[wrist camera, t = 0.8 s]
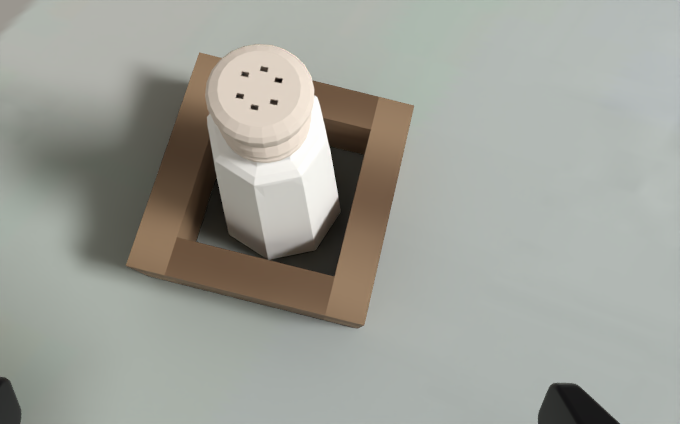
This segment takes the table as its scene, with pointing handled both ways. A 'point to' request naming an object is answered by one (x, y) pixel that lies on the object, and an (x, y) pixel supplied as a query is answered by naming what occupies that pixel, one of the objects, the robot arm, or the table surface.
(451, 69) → the table surface
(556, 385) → the robot arm
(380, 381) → the table surface
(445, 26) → the table surface
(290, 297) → the socket block
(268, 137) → the pepper shaker
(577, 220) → the table surface
